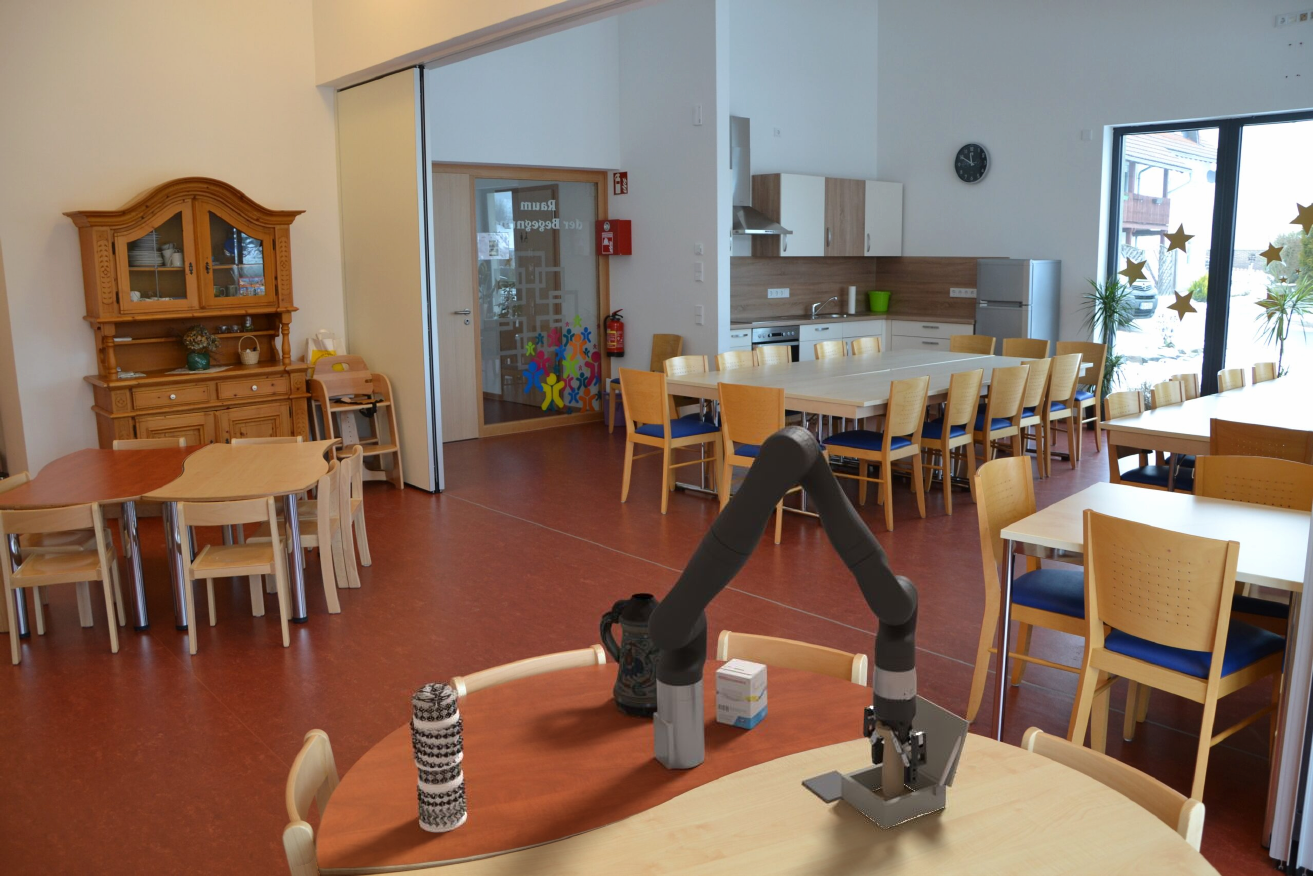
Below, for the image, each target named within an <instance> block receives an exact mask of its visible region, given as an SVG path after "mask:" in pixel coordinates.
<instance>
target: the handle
mask: <svg viewBox="0 0 1313 876" xmlns="http://www.w3.org/2000/svg"><path fill="white" fill-rule="evenodd" d="M879 723H881V722H880V721H877V722H876V733H877V734H879V735H880V736H882V737H884V741H883V743H884V753H883V765H882V788H881V789H882V793H883V798H882V799H883V800H884V801H889V800H892V799H894V798H897V797H900V796H903V794H904V790H905V785H904V761H903V758H902V756H901V755H900V754H898V752H897V750H896V747H895V746H894V742H893V739H892V738H891V731H889V730H888V729H890V727H888V726H884V727H883V726H881V725H879ZM895 733H896V734H897V735H898V732H895ZM902 747H903V745H902Z"/></svg>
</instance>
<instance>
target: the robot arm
mask: <svg viewBox="0 0 1313 876" xmlns="http://www.w3.org/2000/svg"><path fill="white" fill-rule="evenodd" d="M751 463H752V464H751V466H750V468H749V469H748V472H747V473H746V476H745V477H744V479H743V481H742V483H741V484H740V486H739V487H738V489H737V490H736V492H735V493H734V494H733V495H732V497H730V499H729V500H728V502H727V503H725V505H724V507H723V508H722V510H721V511H720V512H719V513H718V515H717V516H716V517H715V519H714V521H712V523H711V525H710V526H709V528H708V529H707V531H706V533H705V534H704V536H703V537H702V538H701V541H700V542H699V545H698V546H697V547H696V549H695V550H694V552H693V554H692V555H691V557H690V559H689V560H688V562H687V564H686V566H685V567H684V569H683V572H682V573H681V575H680V577H679V578H678V579H677V581H676V582H675V584H673V587H672V588H671V589H670V590H669V591H668V593H667V594H666V595H665V596H664V598H663V599H662V600H661V601H660V602H659V605H658V606H657V607H656V608H655V609H654V610H653V612H652V613H651V615H650V618H649V622H648V633H649V636H650V639H651V641H652V643H653V644H654V645H655V646H656V647H658V648H659V649H662V650H663V653H662V655H661V657H660V659H659V661H658V663H657V666H656V677H657V712H655V713H654V718H653V740H654V741H653V742H654V744H653V745H654V746H653V747H654V758H655V759H656V760H658V761H659V762H660V763H661V764H662V765H663V766H664V767H665V768H666V769H668V770H672V769H689V768H690V769H691V768H695V767H697V766H699V765H700V764H702V763H703V762H704V761H705V750H706V749H705V748H706V747H705V711H704V709H705V708H704V707H705V706H704V704H705V703H704V667H705V664H706V661H707V657H708V656H707V653H708V651H707V650H708V620H707V614H706V610H705V609H706V608H707V606H709V604H710V603H711V602H712V600H713V599H714V598H715V597H716V596H717V595H718V594H719V593H721V592H722V590H724V589H725V587H726V586H727V585H729V584H730V583H731V582H732V580H733V579H734V578H735V577H736V576H737V575H738V574H739V573H740V572H741V570H742V569H743V568H744V566H745V565H746V564H747V562H748V561H749V559H750V558H751V556H752V555H753V553H754V552H755V550H756V548H757V547H758V545H759V543H760V542H761V540H762V538H763V536H764V532H765V530H766V528H767V526H768V522H769V520H770V517H771V515H772V514H773V512H774V510H775V508H776V507H777V505H778V504H779V503H780V502H781V501H782V499H783V498H784V497H785V495H786V494H788V492H789V490H791V488H792V487H793V486H795V484H796V483H797V484H798V485H799V486H800V487H801V488H802V490H803V491H804V492H805V493H806V495H807V496H808V498H809V499H810V501H811V503H812V505H813V507H814V509H815V511H816V513H817V515H818V517H819V520H820V522H821V525H822V527H823V530H824V532H825V535H826V536H827V539H828V541H829V543H830V545H831V546H832V548H833V550H834V551H835V552H836V554H837V555H838V556H839V558H840V559H841V560H842V562H843V563H844V564H845V566H846V567H847V569H848V570H849V571H850V573H851V574H852V575H853V577H854V580H856V583H857V586H858V587H859V589H860V592H861V593H862V596H863V598H864V600H865V601H866V604H867V605H868V607H869V609H870V610H871V611H872V613H873V614H874V616H876V617H877V618H878V629H877V633H876V636H875V639H874V640H875V641H874V668H873V673H872V704H871V705H869V706H866V707H864V709H863V726H862V727H863V728H862V734H863V737H864V738H868V739H869V740H868V741H869V744H870V745H871V746H870V749H871V757H870V758H871V762H872V764H873V765H878V764H881V763H883V753H884V737H882V736H880V735H879V734H877V733H876V722H877V721H880V722H881V723H879V725H881V726H883V727H884V726H888V727H890V729H888V730H889V731H891V738H892V739H893V742H894V746H895V747H896V750H897V752H898V754H900V755H901V756H902V758H903V761H904V763H905V765H904V784H906V785H907V786H909V785H912V784H914V783H915V782H916V781H917V767H919V766H922V765H925V764H927V749H926V734H925V732H924V731H922V732H917V731H915V730H914V729H913V726H912V720H913V718H914V716H915V715H916V694H917V671H916V629H917V620H918V613H919V612H918V609H919V592H918V589H917V587H916V585H915V583H913V581H912V580H910V579H909V578H908V577H906V576H903V575H897V574H896V575H895V574H894V572H893V571H892V570H891V567H890V565H889V562H888V559H889V558H888V554H887V553H886V552H885V549H884V548H883V547H882V545H881V543H880V542H879V541H878V540H877V538H876V537H875V535H874V534H873V533H872V531H871V530H870V529H869V527H868V526H867V524H866V523H865V521H864V520H863V519H862V517H861V516H860V515H859V513H858V512H857V510H856V509H855V508H854V506H853V504H852V502H851V501H850V500H849V498H848V495H846V493H845V492H844V490H843V488H842V485H840V483H839V480H838V479H837V477H836V476H835V474H834V472H833V470H832V468H831V466H830V464H829V463H828V460H827V458H826V457H825V455H824V452H823V451H822V449H821V446H820V444H819V442H818V441H817V440H816V437H815V436H814V435H813V433H811V432H810V431H809V430H808V429H806V428H805V427H803V426H800V425H788V426H785V427H783V428H780V429H779V430H777V431H775V432H774V433H772V434H771V435H770V436H768V437H767V438H766V439H765V440H764V441H763V443H762V444H761V445H760V447H759V449H758V452H757V453H756V455H755V457H754V459H753V462H751ZM895 732H898V735H897V734H896V733H895ZM907 741H908V744H909V746H908V747H905V748H904V747H902V745H904V744H906V743H907ZM907 752H910V754H911V758H910V759H909V757H908V754H907ZM919 754H920V758H919V757H918V755H919Z"/></svg>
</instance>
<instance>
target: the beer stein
mask: <svg viewBox="0 0 1313 876" xmlns="http://www.w3.org/2000/svg"><path fill="white" fill-rule="evenodd" d="M659 603H660V602H659V601H658V599H656V598H655V596H654V595H653V594H652V593H645V592H643V593H642V592H641V593H640V592H639V593H634V594H632V595H631V596H630V598H629V599H619V600H617V601H616V602H614V604H613V605H612V607H611V609H610V610H608V611H606V612H604V613H603V614H602V616H601V620H600V621H599V622H600V623H599V635H600V639H601V642H602V643H603V645H604V648H605V650H606V651H607V653H608V654H609V656H610V657H612V659H613V660H614V661H615V662H616V663H617V665H618V671H617V675H616V676H617V677H616V681H615V682H614V685H613V689H612V690H613V691H612V695H613V698H614V702H615V707H616V708H617V709H618V711H620V713H623V714H625V715H628V716H630V717H636V718H643V719H645V718H646V719H649V718H651V719H652V718H653V719H654V713H655V712H657V677H656V666H657V663H658V661H659V659H660V657H661V655H662V653H663V650H662V649H659V648H658V647H656V646H655V645H654V644H653V643H652V641H651V639H650V636H649V633H648V622H649V618H650V615H651V613H652V612H653V610H654V609H655V608H656V607H657V606H658V605H659ZM613 624H616V625H620V627H621V629H622V632H621V642H620V643H621V644H620V646H619V644H618V643H617V641H616V639H615V637H614V635H613V632H612V626H613Z"/></svg>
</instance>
